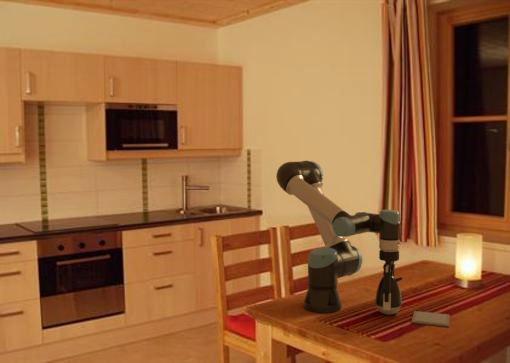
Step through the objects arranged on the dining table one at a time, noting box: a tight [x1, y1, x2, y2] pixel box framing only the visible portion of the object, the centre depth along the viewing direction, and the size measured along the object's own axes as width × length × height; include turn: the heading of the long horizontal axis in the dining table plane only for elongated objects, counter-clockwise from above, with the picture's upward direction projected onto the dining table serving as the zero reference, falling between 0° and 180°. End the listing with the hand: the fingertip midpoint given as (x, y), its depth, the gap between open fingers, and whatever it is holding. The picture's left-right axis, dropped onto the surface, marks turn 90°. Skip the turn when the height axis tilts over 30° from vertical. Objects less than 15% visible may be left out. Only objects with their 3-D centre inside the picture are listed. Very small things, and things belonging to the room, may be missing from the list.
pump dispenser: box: [374, 275, 403, 316], centre depth 213 cm, size 10×10×15 cm
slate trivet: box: [411, 310, 450, 328], centre depth 205 cm, size 13×13×1 cm
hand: (388, 305), depth 213 cm, fingers closed on pump dispenser, 10 cm apart
